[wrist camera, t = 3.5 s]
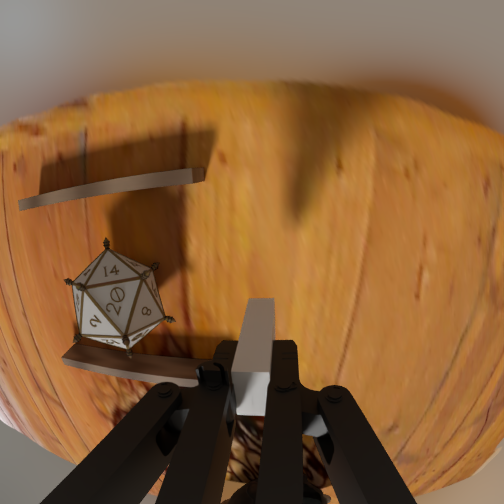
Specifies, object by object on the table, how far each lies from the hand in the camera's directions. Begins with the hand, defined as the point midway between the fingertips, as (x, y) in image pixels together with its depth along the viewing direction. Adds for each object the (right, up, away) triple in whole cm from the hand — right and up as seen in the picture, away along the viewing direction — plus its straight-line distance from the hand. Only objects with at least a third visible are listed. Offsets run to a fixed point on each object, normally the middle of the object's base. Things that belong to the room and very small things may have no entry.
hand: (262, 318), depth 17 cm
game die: (-11, +1, +7) cm, 13 cm away
